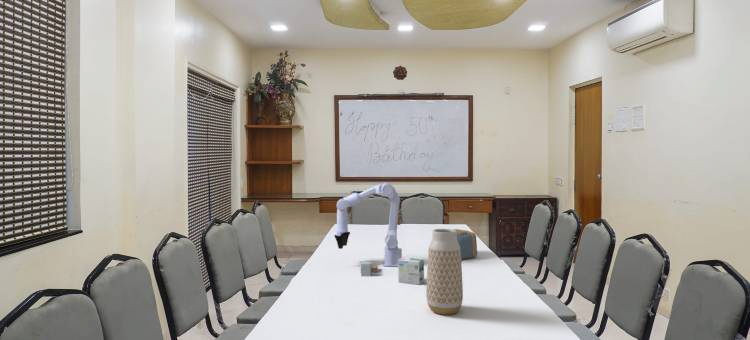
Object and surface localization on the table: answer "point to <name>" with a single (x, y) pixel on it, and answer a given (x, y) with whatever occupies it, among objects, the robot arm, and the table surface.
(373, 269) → the walnut base
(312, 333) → the table surface
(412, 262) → the light bulb box
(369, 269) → the grey block
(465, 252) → the alarm clock
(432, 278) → the vase
